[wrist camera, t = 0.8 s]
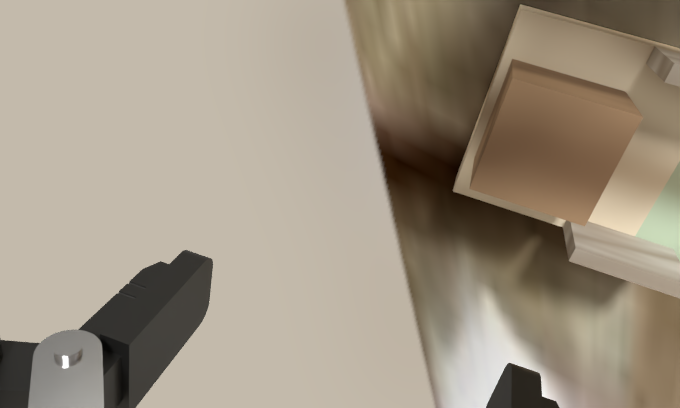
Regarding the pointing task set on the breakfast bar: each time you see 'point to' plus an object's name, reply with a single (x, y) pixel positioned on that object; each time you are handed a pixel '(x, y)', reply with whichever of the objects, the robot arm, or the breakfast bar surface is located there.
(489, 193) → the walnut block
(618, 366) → the breakfast bar surface
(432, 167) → the breakfast bar surface
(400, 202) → the breakfast bar surface
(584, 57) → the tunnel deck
